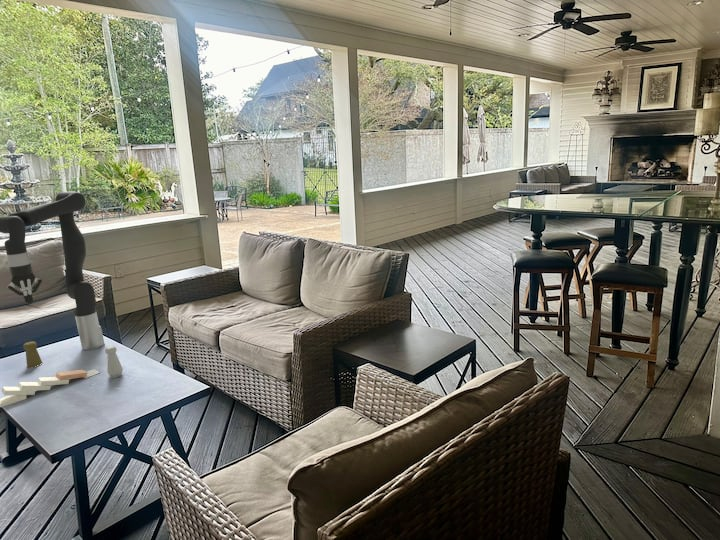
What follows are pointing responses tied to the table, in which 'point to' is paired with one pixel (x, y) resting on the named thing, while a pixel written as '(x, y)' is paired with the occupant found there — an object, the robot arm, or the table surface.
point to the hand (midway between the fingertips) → (29, 303)
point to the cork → (32, 354)
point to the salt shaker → (113, 362)
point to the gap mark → (91, 373)
